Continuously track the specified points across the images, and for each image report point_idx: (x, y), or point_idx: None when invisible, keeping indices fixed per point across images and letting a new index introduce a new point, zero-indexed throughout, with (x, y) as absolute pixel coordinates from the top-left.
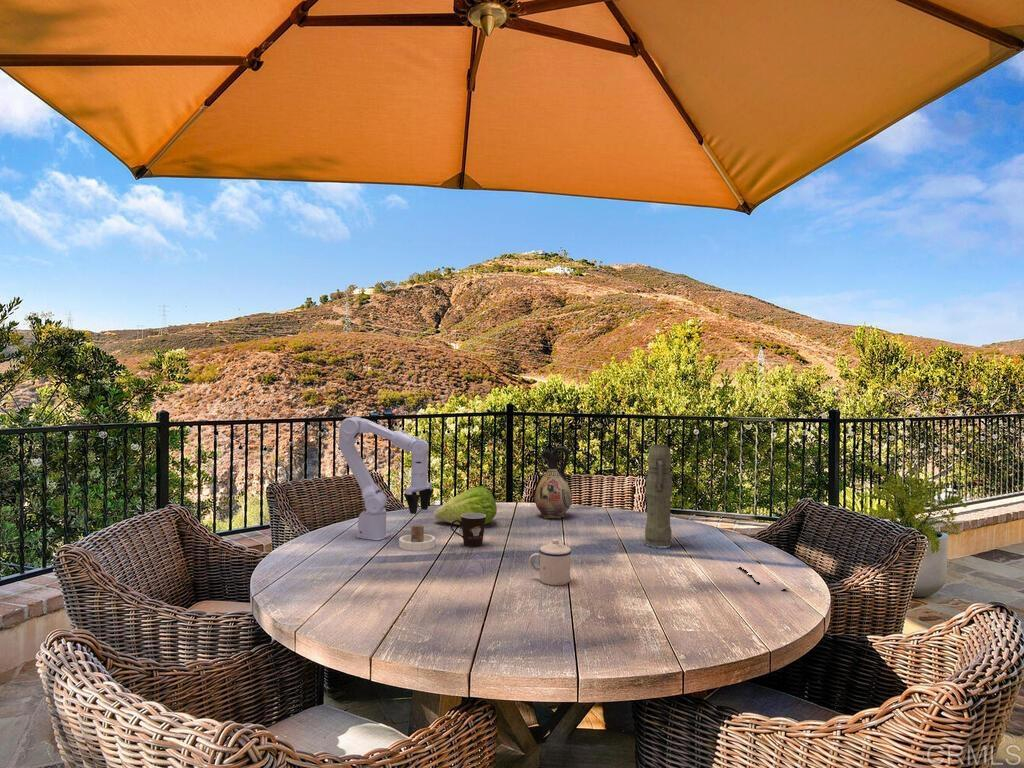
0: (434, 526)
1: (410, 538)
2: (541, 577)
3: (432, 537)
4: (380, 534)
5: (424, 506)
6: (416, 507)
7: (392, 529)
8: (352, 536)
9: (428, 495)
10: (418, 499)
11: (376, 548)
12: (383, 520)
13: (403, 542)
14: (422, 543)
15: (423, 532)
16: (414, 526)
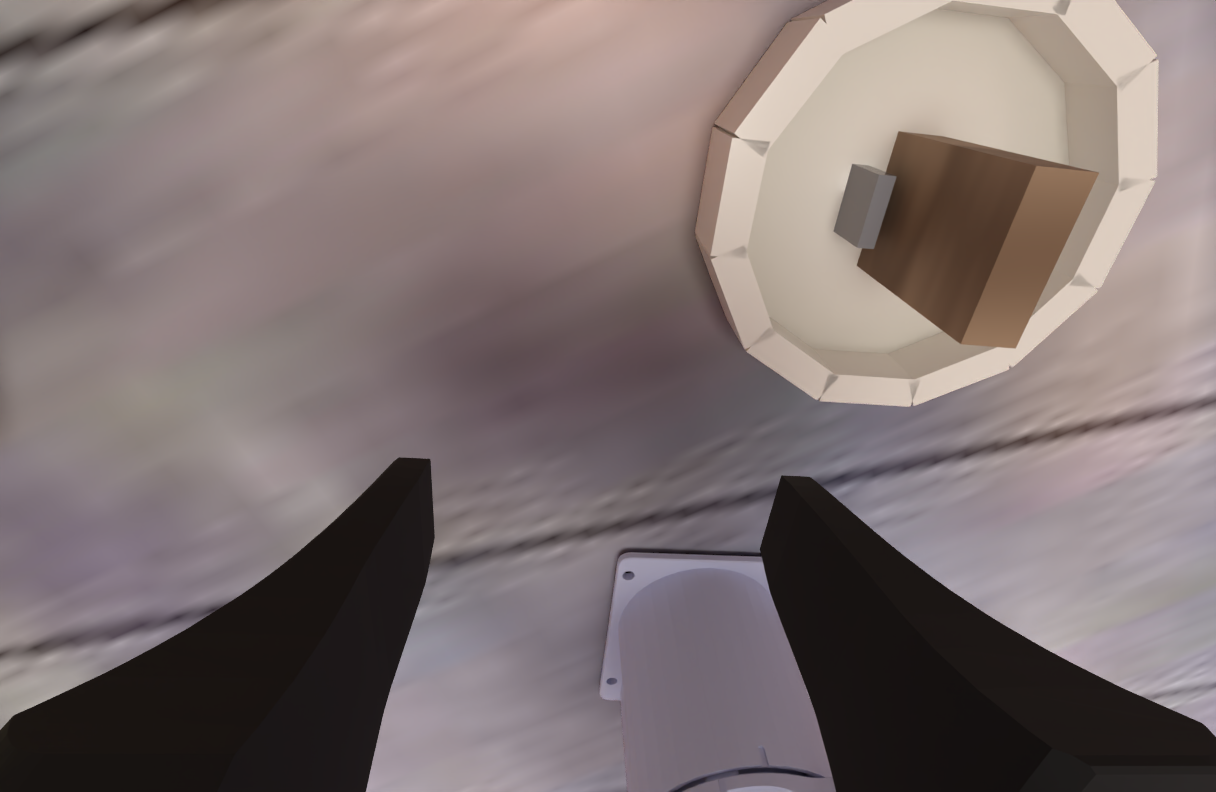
0: (84, 373)
1: (790, 336)
2: None
3: (862, 40)
4: (753, 596)
5: (421, 527)
6: (865, 537)
7: (430, 620)
8: None
9: (314, 676)
10: (957, 660)
11: (1003, 478)
12: (759, 695)
13: (1093, 291)
14: (1148, 51)
15: (982, 152)
16: (1036, 301)
